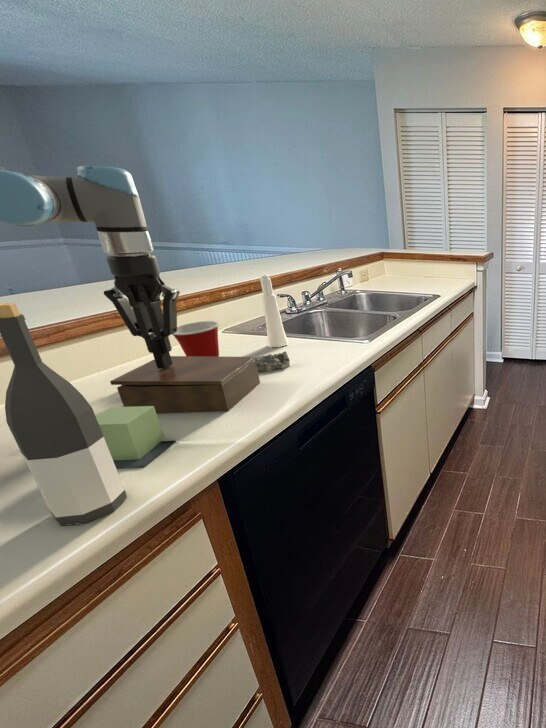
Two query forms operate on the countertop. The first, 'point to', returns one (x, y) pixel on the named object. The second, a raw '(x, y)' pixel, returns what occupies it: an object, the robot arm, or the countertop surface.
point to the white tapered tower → (272, 315)
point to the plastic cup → (199, 338)
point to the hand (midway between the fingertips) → (165, 366)
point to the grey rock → (272, 361)
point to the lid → (186, 371)
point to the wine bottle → (57, 432)
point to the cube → (130, 431)
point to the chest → (192, 394)
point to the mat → (144, 457)
